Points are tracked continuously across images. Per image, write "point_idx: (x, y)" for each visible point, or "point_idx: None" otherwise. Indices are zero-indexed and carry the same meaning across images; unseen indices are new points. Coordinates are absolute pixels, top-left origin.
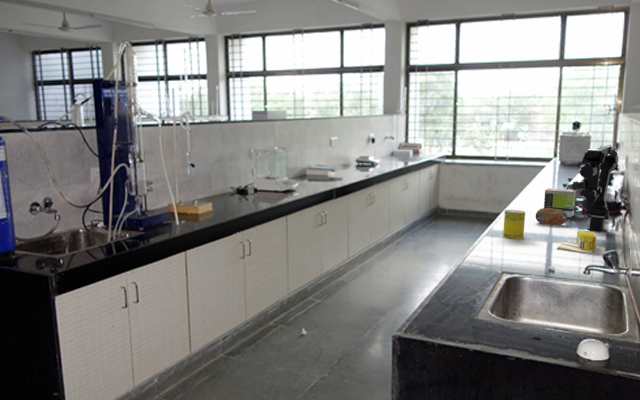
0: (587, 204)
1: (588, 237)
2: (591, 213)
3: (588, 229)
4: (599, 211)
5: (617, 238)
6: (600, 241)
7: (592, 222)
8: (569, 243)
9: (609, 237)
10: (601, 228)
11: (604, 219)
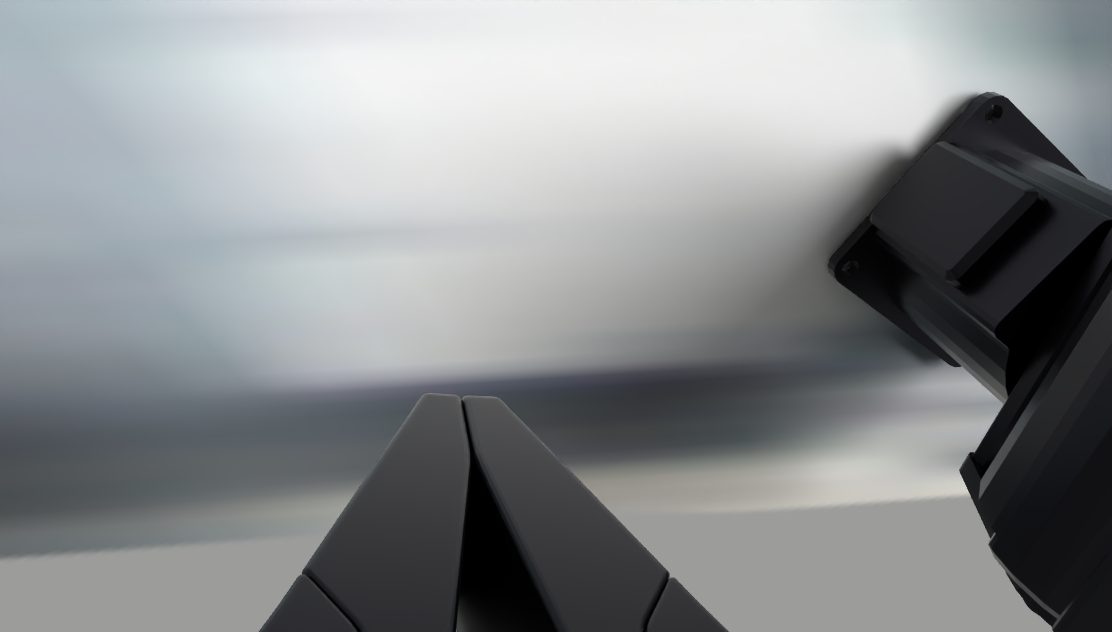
0: (356, 504)
1: None
2: (1106, 287)
3: (957, 121)
4: (1040, 493)
5: None
6: (105, 337)
7: (977, 230)
8: None
9: None
10: (916, 323)
11: (972, 453)
